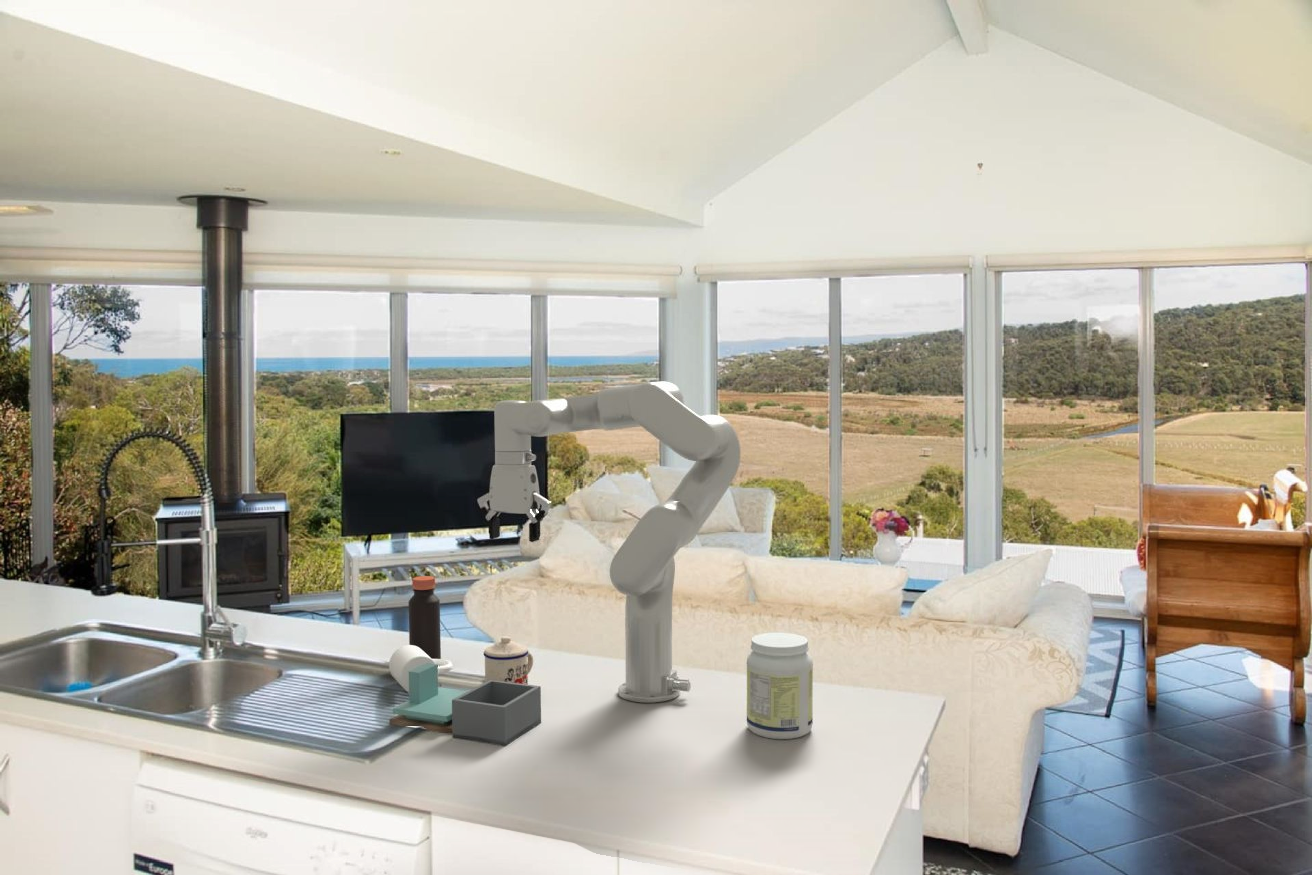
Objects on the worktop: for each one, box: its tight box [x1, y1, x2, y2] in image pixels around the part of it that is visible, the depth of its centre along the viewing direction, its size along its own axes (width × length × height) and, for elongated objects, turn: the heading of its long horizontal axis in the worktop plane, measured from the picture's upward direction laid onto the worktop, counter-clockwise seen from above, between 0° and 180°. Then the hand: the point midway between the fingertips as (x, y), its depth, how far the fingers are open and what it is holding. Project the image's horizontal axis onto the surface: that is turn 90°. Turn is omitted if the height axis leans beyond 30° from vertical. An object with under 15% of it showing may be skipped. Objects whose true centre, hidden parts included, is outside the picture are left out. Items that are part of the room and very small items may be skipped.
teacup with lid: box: [483, 635, 534, 685], centre depth 217 cm, size 12×9×12 cm
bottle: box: [408, 575, 442, 659], centre depth 234 cm, size 7×7×20 cm
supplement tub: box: [746, 632, 814, 740], centre depth 193 cm, size 12×12×17 cm
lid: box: [392, 663, 469, 724], centre depth 201 cm, size 12×14×8 cm
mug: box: [388, 644, 453, 693], centre depth 220 cm, size 12×10×8 cm
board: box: [389, 714, 453, 735], centre depth 201 cm, size 14×14×1 cm
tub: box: [451, 680, 542, 747], centre depth 194 cm, size 11×13×7 cm
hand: (514, 539), depth 222 cm, fingers open, 9 cm apart
